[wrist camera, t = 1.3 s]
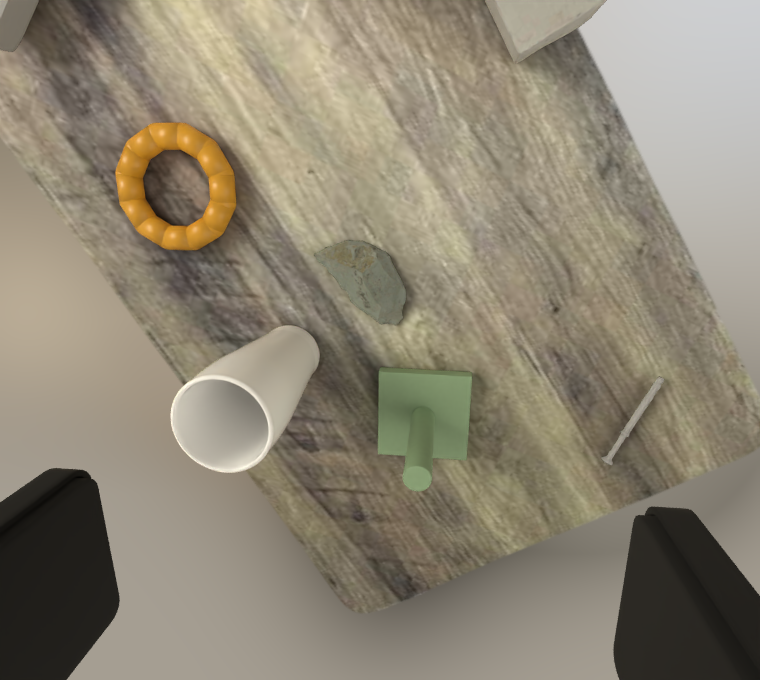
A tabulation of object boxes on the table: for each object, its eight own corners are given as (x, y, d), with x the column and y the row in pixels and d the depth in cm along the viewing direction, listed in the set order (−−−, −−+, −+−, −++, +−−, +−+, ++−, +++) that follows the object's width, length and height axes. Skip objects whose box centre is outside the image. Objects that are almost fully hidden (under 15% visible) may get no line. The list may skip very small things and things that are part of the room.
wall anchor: (599, 455, 44) (603, 461, 43) (653, 373, 41) (658, 377, 40) (610, 460, 44) (613, 466, 43) (664, 377, 41) (669, 382, 40)
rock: (384, 335, 43) (427, 297, 42) (380, 340, 41) (426, 301, 40) (313, 256, 42) (355, 215, 41) (306, 258, 40) (350, 215, 39)
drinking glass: (325, 392, 45) (270, 484, 31) (254, 380, 46) (167, 464, 31) (333, 322, 43) (277, 384, 29) (258, 309, 44) (168, 365, 29)
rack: (380, 366, 44) (359, 422, 33) (471, 371, 43) (480, 429, 32) (379, 447, 46) (359, 523, 35) (466, 454, 45) (472, 533, 34)
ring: (119, 125, 41) (103, 121, 39) (234, 124, 40) (224, 120, 38) (134, 247, 44) (120, 249, 42) (243, 250, 42) (233, 252, 40)
